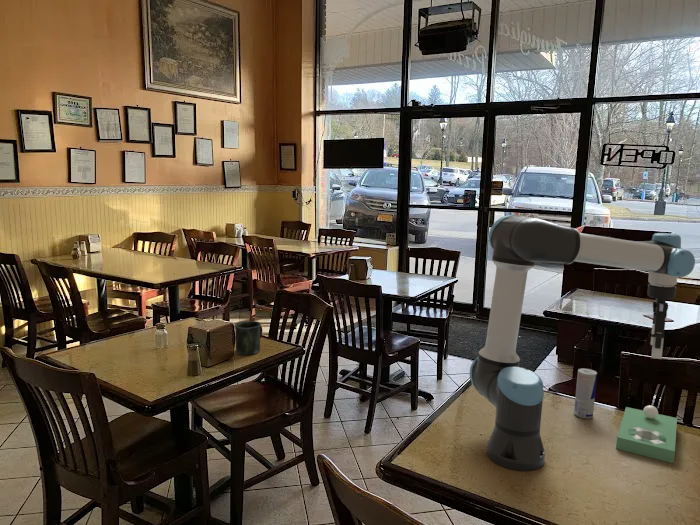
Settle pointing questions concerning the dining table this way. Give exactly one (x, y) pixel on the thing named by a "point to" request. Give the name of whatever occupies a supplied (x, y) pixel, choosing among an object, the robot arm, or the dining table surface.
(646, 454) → the green
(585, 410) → the beverage can
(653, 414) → the ball
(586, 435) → the dining table surface
